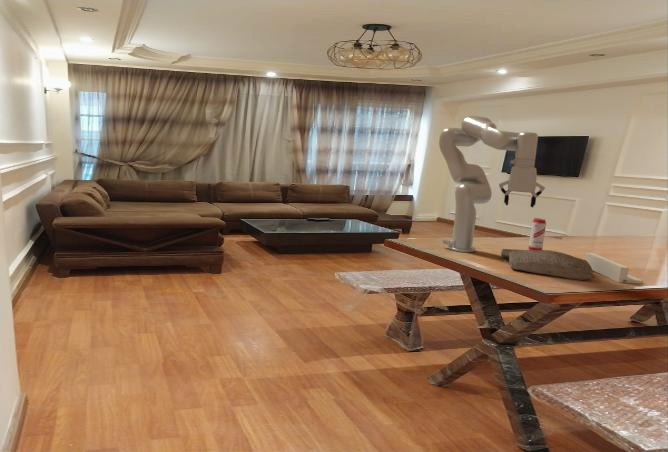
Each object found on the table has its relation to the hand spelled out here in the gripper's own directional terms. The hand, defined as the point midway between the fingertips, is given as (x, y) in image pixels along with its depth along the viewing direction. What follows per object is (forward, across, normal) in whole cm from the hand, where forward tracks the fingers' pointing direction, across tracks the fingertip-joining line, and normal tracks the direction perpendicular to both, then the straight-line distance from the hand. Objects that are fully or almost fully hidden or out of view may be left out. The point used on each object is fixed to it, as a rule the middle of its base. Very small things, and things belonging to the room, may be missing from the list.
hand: (519, 206), depth 183 cm
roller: (+25, +2, +16) cm, 30 cm away
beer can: (+25, +15, +41) cm, 51 cm away
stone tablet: (+26, +14, +1) cm, 30 cm away
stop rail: (+26, +40, +9) cm, 48 cm away
